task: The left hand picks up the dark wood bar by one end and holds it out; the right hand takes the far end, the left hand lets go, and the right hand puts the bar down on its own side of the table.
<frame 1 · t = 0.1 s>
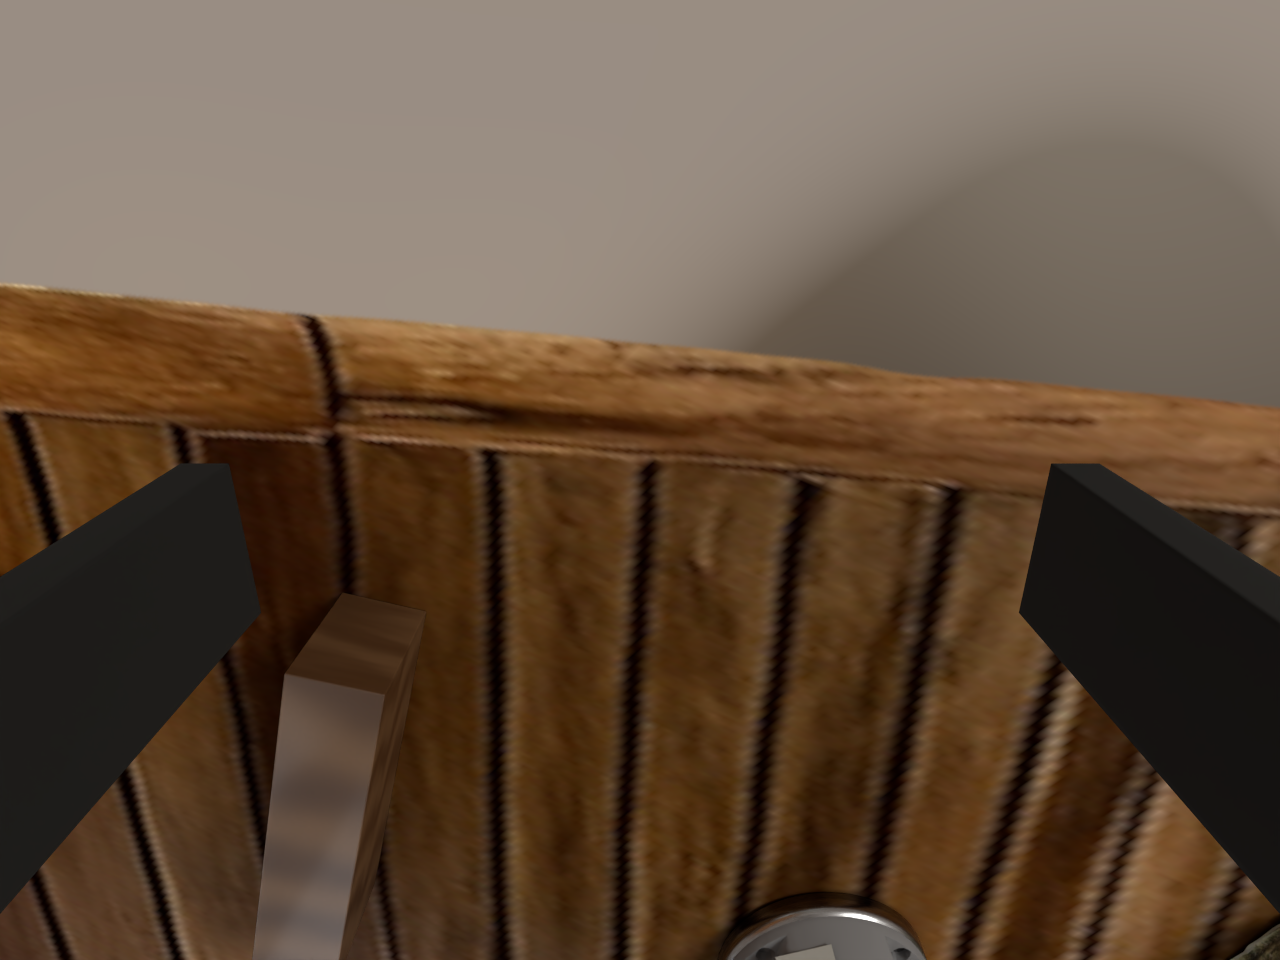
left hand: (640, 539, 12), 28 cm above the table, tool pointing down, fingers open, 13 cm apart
bar: (360, 749, 49), on the table
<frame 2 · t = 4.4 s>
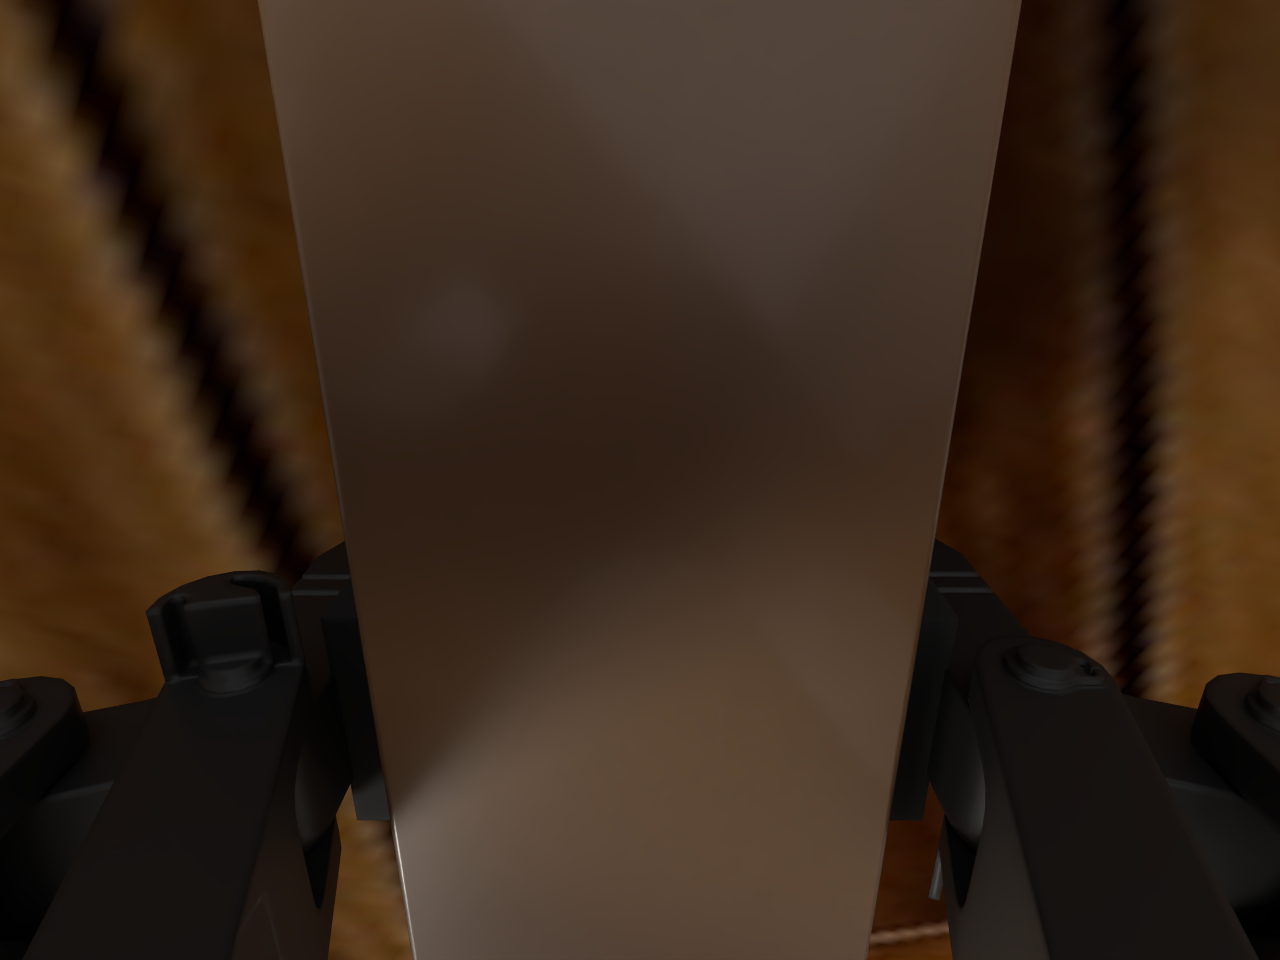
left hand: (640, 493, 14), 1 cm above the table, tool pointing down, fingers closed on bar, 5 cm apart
bar: (639, 20, 12), on the table, touching left hand
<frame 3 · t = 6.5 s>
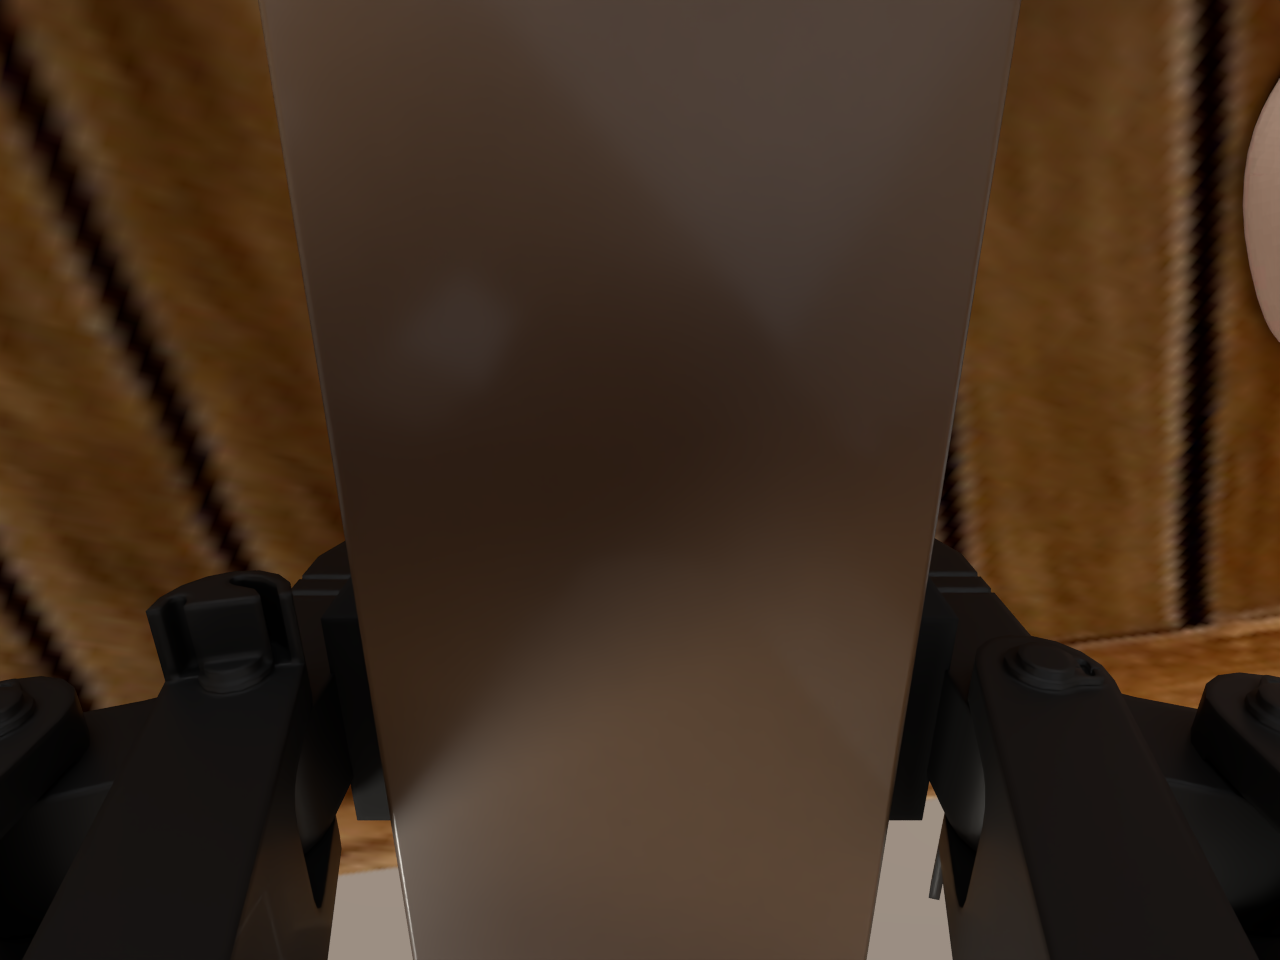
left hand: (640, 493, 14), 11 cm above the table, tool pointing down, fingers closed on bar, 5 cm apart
bar: (639, 22, 12), point 11 cm above the table, touching left hand
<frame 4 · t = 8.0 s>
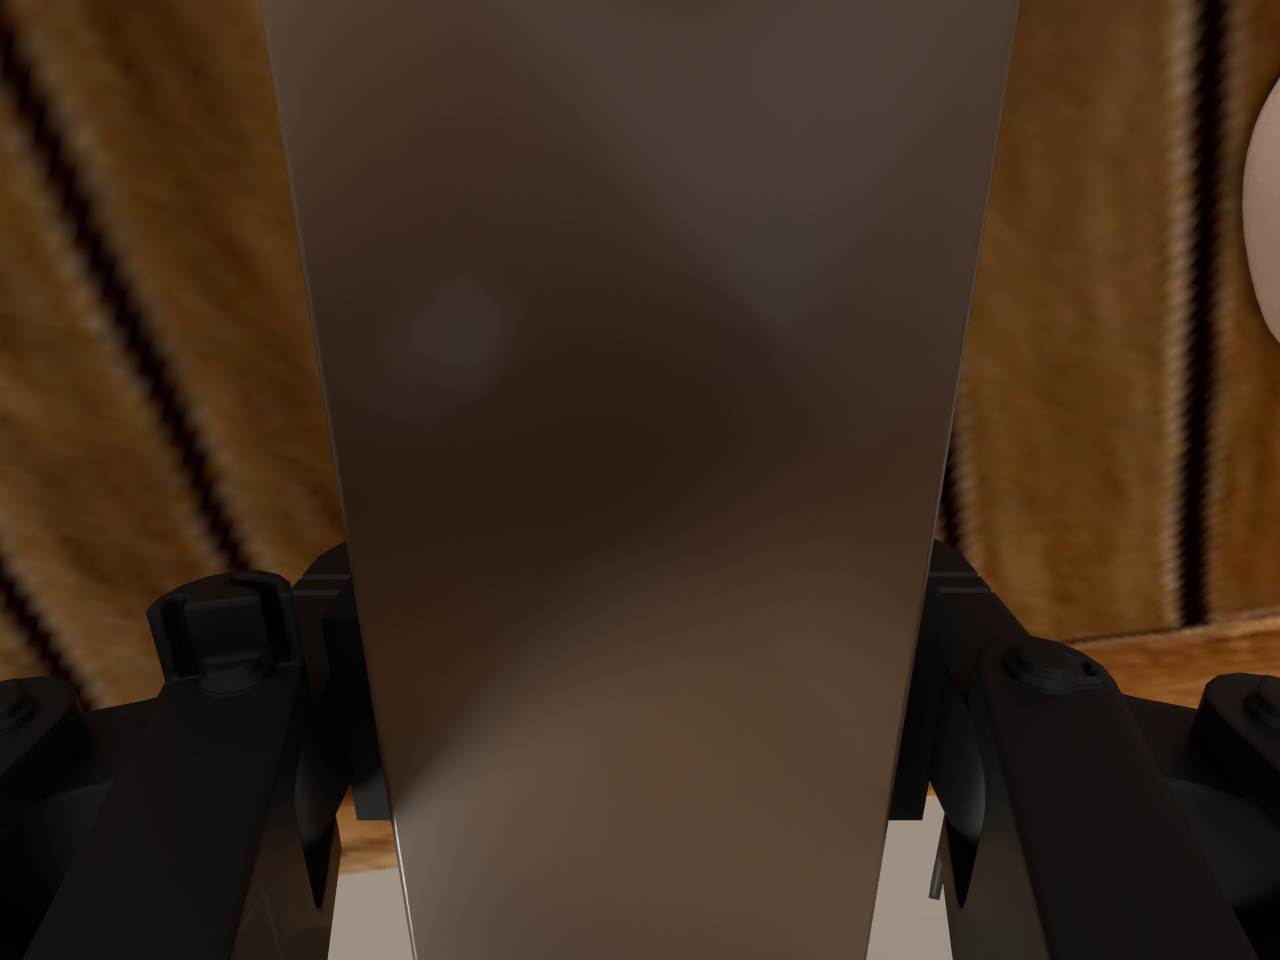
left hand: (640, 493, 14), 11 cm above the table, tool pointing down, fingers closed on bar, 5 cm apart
bar: (639, 22, 12), point 11 cm above the table, touching left hand, right hand
when the left hand's fingers open (11 cm above the table, at t = 8.9 s): bar stays where it is, held by the right hand.
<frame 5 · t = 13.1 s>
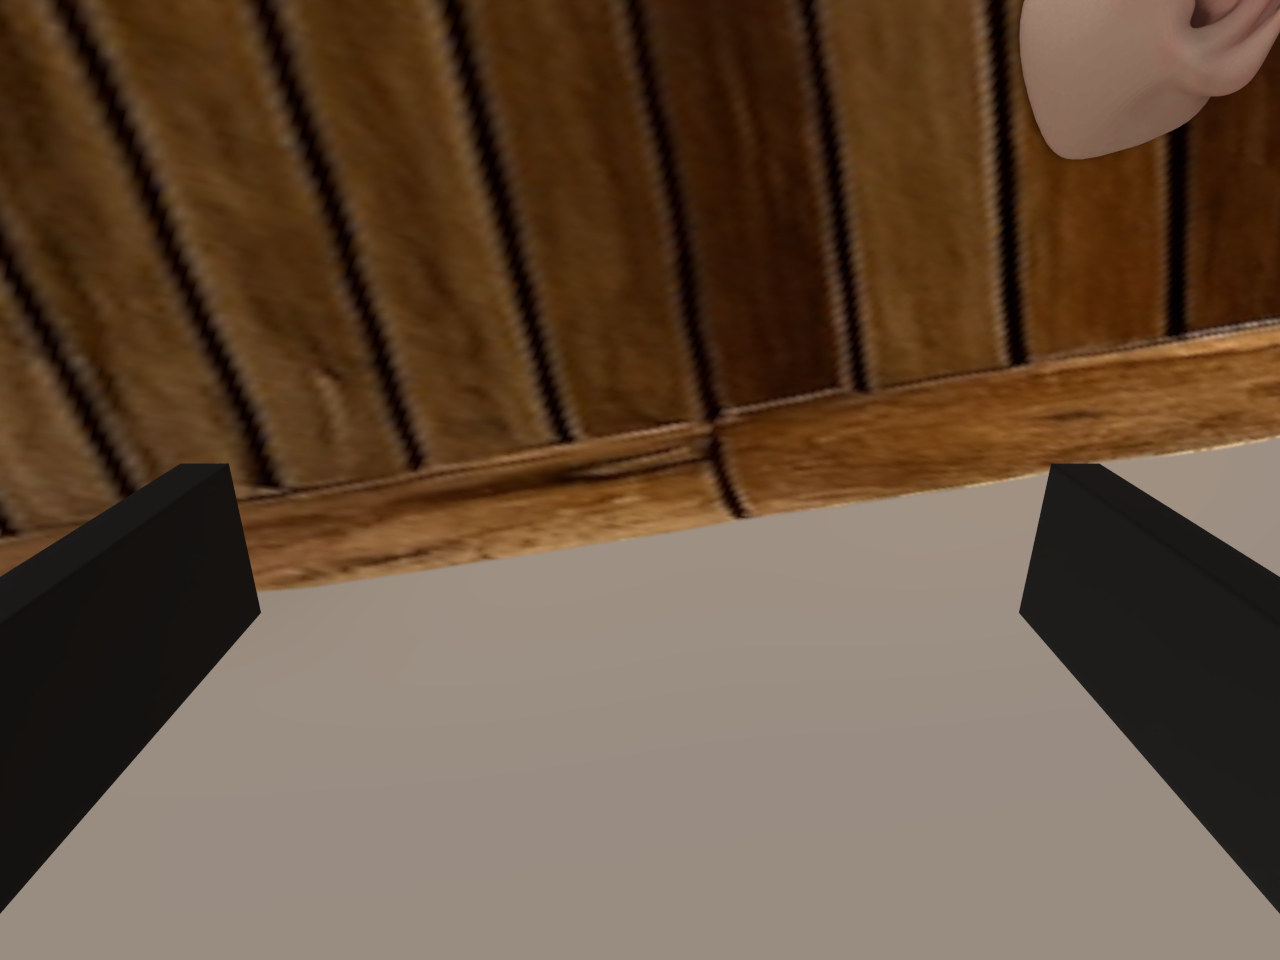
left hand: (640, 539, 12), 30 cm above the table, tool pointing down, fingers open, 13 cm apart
anatomical model: (1145, 4, 35), on the table
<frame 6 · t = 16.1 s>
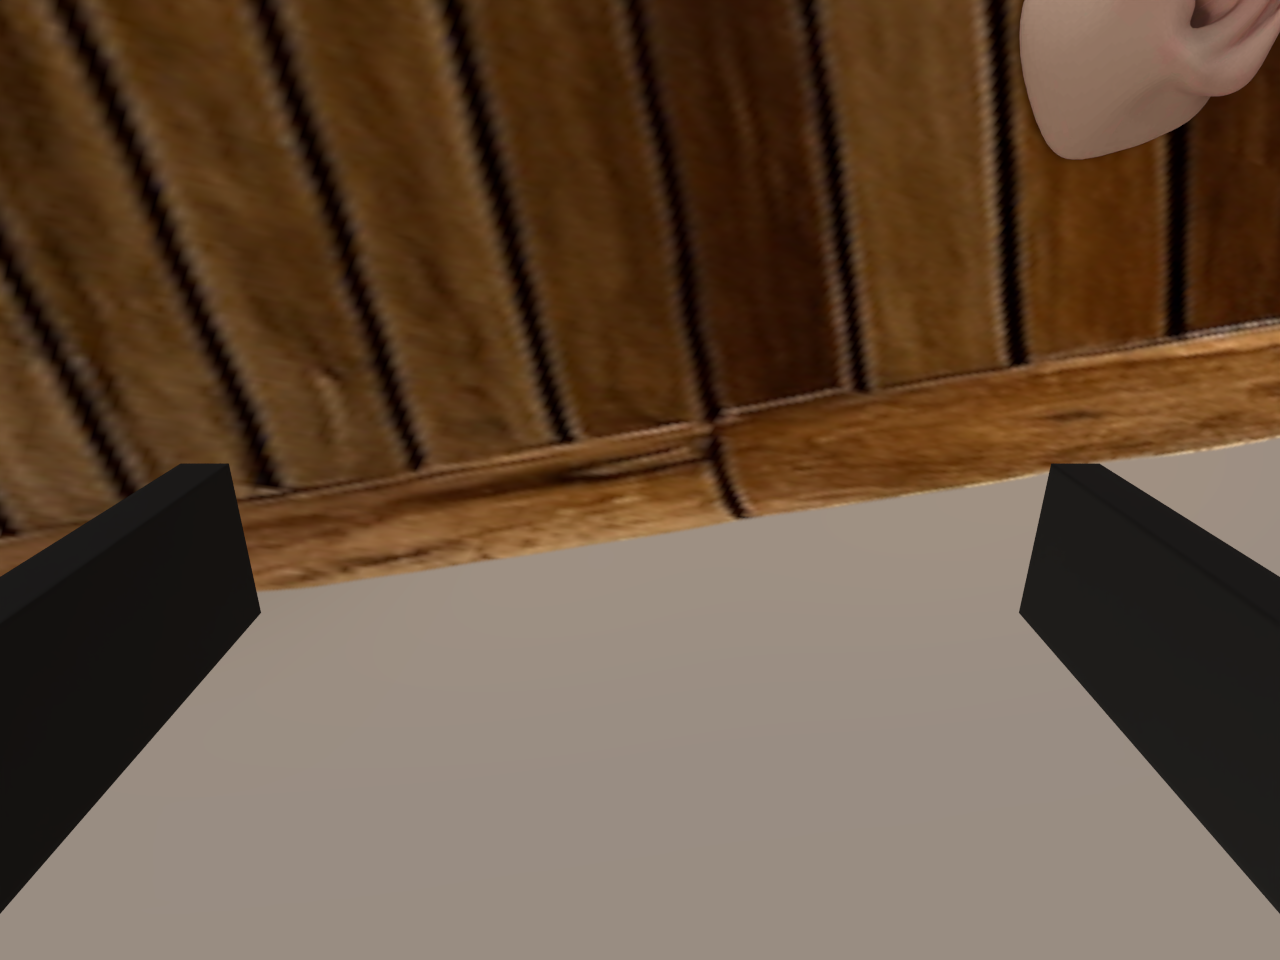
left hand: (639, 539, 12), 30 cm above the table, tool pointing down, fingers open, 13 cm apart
anatomical model: (1145, 4, 35), on the table
when the right hand's fingers open (4 cm above the table, at t = 18.4 s): bar drops 1 cm, on the table.
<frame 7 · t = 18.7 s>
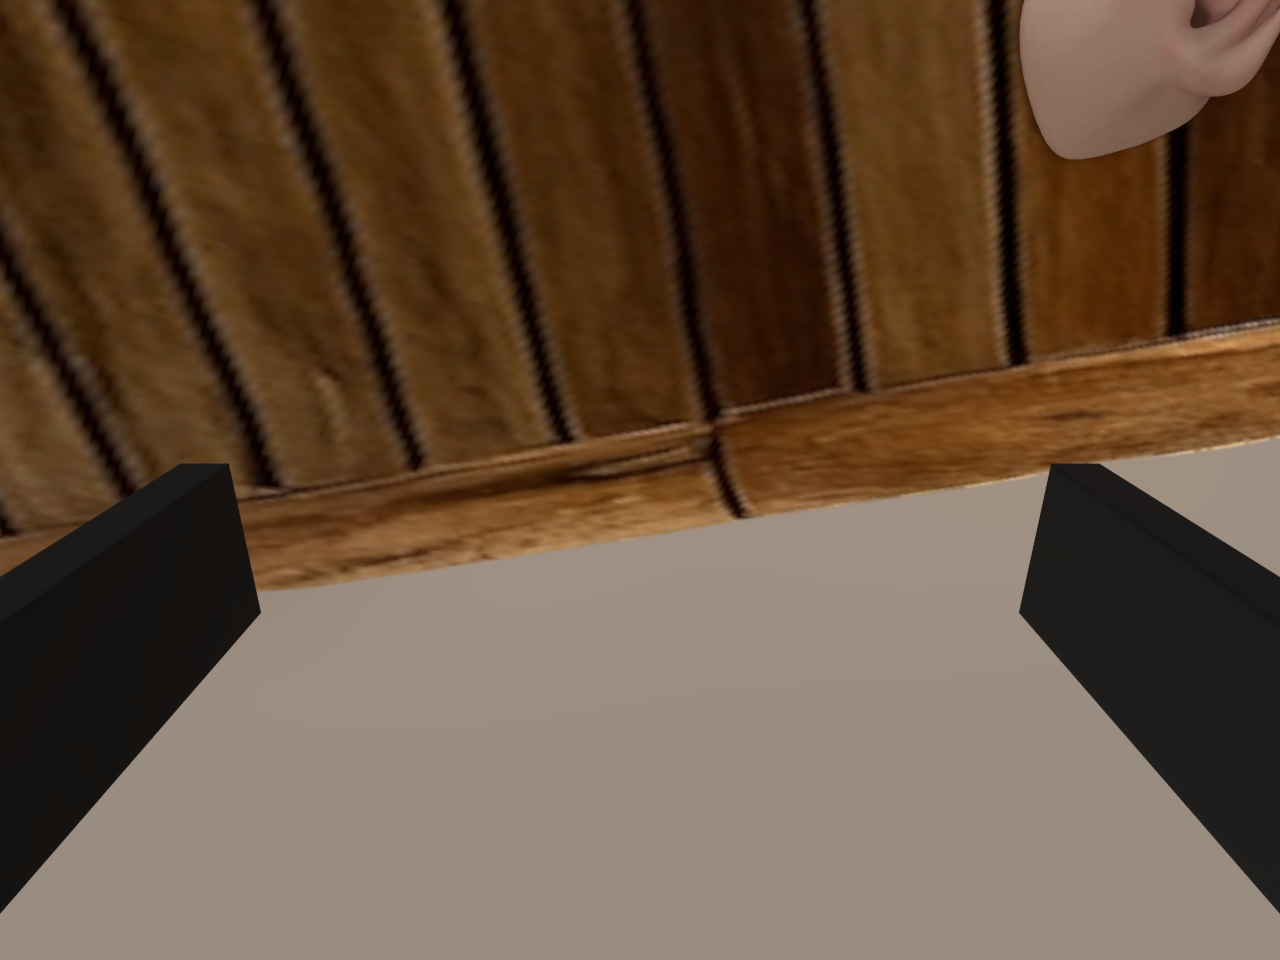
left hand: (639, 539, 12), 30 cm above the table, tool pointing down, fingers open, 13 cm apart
anatomical model: (1145, 4, 35), on the table
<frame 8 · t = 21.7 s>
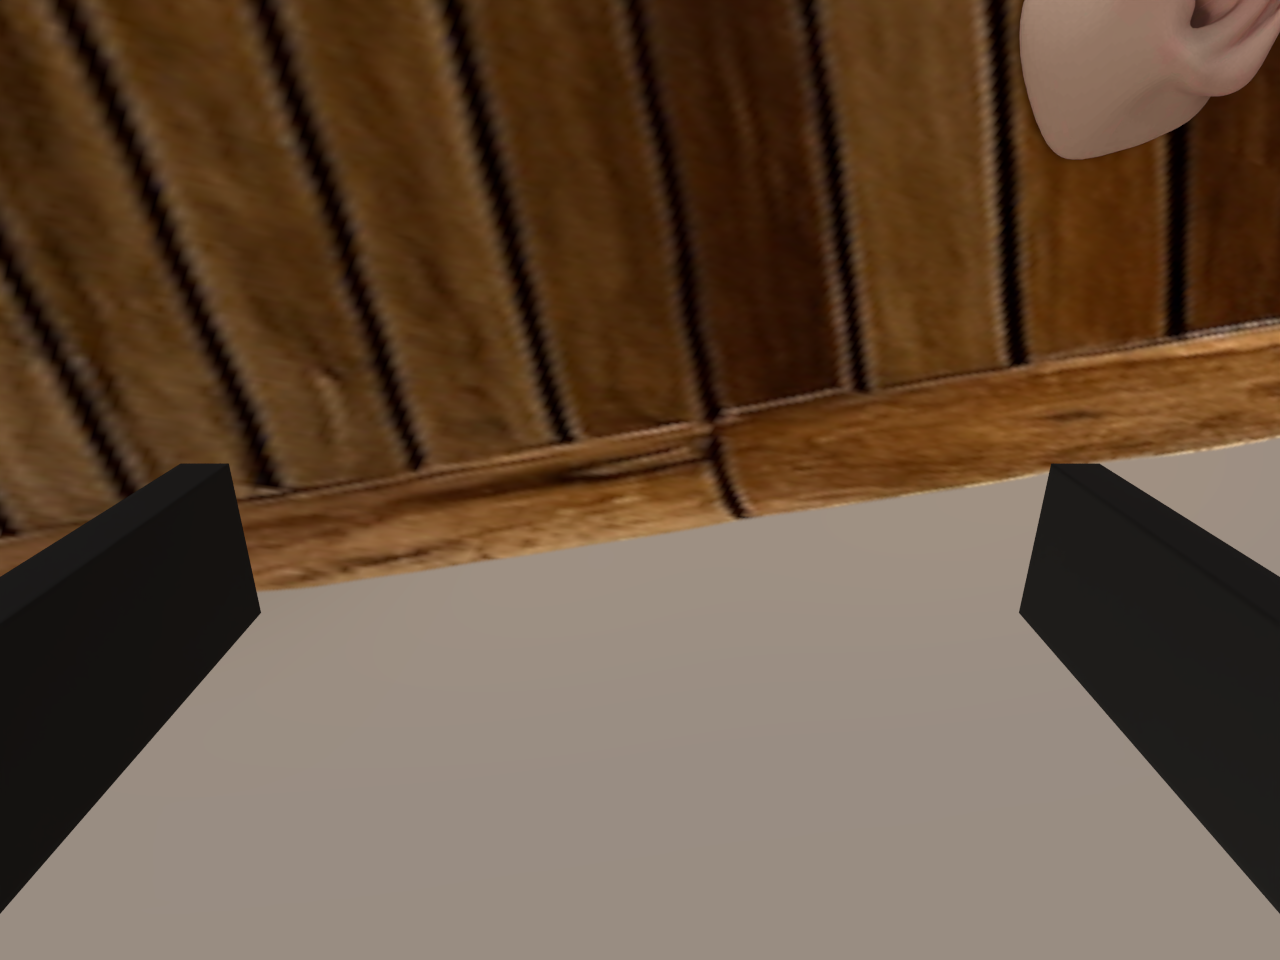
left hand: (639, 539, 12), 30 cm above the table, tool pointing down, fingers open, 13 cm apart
anatomical model: (1145, 4, 35), on the table
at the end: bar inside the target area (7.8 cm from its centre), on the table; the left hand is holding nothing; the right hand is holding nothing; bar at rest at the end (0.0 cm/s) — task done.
